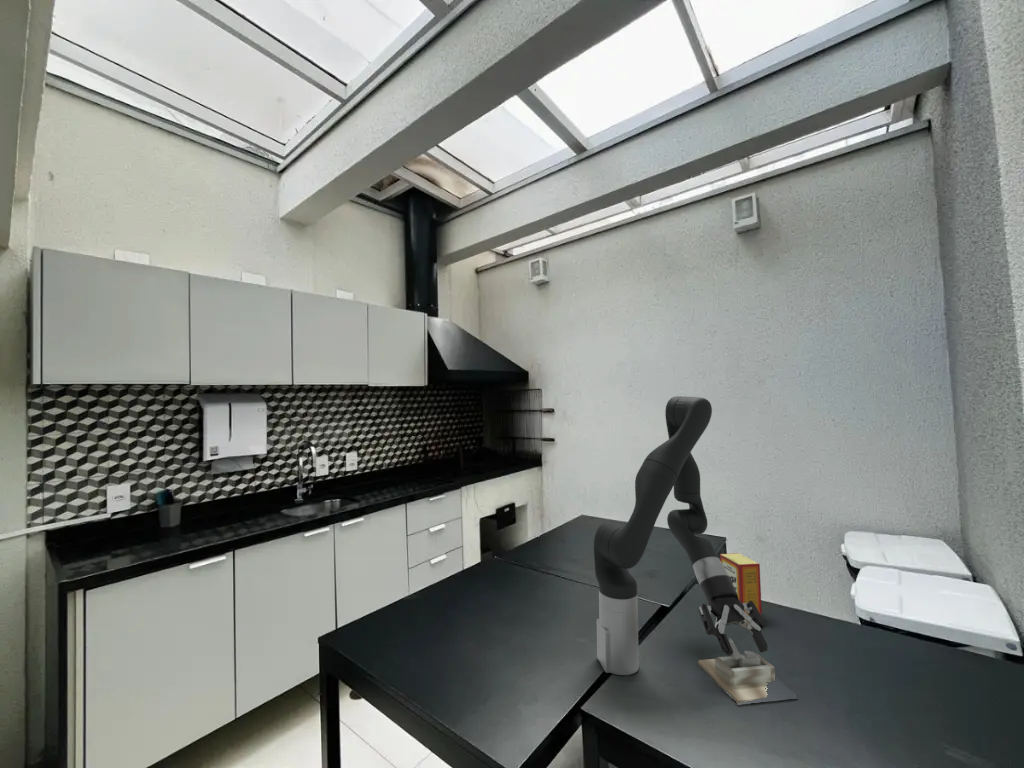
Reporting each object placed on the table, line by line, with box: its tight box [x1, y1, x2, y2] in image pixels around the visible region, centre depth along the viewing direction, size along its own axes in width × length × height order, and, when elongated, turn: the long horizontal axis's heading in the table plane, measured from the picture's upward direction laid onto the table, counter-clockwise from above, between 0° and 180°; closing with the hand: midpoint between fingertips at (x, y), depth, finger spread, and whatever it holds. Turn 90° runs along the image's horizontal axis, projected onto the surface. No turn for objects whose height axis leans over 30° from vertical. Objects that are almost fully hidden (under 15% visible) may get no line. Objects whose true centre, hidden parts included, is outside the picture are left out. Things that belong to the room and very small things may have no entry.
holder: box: [697, 653, 776, 703], centre depth 93 cm, size 14×14×4 cm
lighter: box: [727, 637, 761, 668], centre depth 93 cm, size 7×2×8 cm, turn 85°
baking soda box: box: [719, 552, 763, 615], centre depth 126 cm, size 10×6×16 cm
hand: (747, 652), depth 92 cm, fingers open, 8 cm apart
